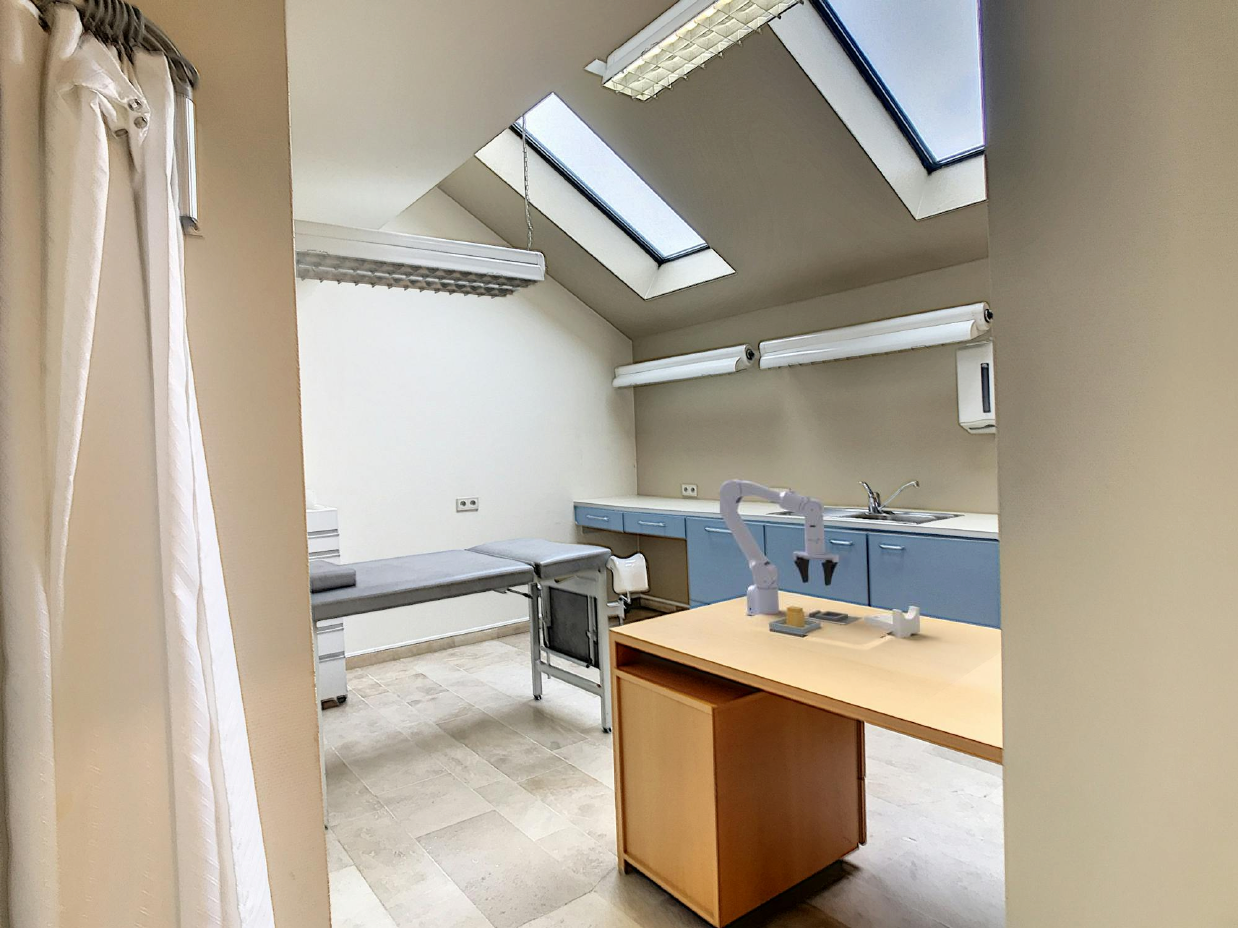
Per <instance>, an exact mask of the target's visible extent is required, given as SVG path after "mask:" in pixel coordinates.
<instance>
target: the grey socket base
mask: <svg viewBox="0 0 1238 928" xmlns="http://www.w3.org/2000/svg"><path fill="white" fill-rule="evenodd" d="M804 619H805V620H811V621H817V622H823V623H830V624H835V625H841V626H847V625H848V624H851V623H854V622H856V621H858V620H861V619H862V617H857V616H851V615H849V613H843V612H836V611H831V610H825V611H821V610H819V609H817V610H815V611H812V612H809V613H808V615H806V616H804Z"/></svg>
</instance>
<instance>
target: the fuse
mask: <svg viewBox="0 0 1238 928" xmlns="http://www.w3.org/2000/svg"><path fill="white" fill-rule="evenodd" d="M803 609H804V608H803V607H800V606H795V605H792V606H788V607H786V612H785V617H786V622H785V623H786V624H785V625H788V626H794V627H799V628H804V627H806V625H805V623H804V619H805V618H804V617H805V611H803Z"/></svg>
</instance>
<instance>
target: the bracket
mask: <svg viewBox="0 0 1238 928" xmlns="http://www.w3.org/2000/svg"><path fill="white" fill-rule="evenodd" d="M891 611H892V613H891V614H889V613H885V612H882V613H876V614H871V615H865V616H864V621H865V622H864V623H865V625H868V626H872V627H876V628H879V629H882V630H886V631H889V632H888V633H886V635H888V636H891V635H892V636H891V637H894V638H898V639H903V638H904V637H905V638H908V637H909V636H910V637H911V635H912V634H917V633H921V623H920V622H921V621H920V620H921V619H920V618H921V617H920V607H917V606H914V605H909V606H908V611H907V613H906V614H905V615H904V614H903V610H901V609H897V608H896V609H895V608H894V609H892V610H891ZM910 637H909V638H910ZM905 638H904V639H905Z"/></svg>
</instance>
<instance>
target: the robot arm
mask: <svg viewBox="0 0 1238 928" xmlns="http://www.w3.org/2000/svg"><path fill="white" fill-rule="evenodd" d="M795 492H796V491H795V490H793V489H790V490H784V491H783V492H780V491H777V490H775V489H773V488H770V487H767V486H764V485H762V484H759V483H756V482H753V481H749V480H745V479H744V480H743V479H741V478H733V479H727V480H726V481H724V482H722V484H721V486H720V488H719V491H718V496H719V513H720V516H721V518H722V519H723V521H724V522H725V525H726V526H727V528H728V529H729V531H730V533H731V535H732V536H733V538H734V539H735V542H736V543H737V545H738V547H739V548H740V550H741V551H742V553H743V555H744V557H745V558H746V560H747V561H748V565H749V566H748V567H749V570H750V572H751V574H752V581H753V583H754V584H752V585H750V586H749V587H748V588H747V591H746V608H747V609H746V610H747V611H746V613H745V614H746V615H747V616H751V617H755V616H758V615H760V614H761V615H774V614H775V615H776V614H778V613H779V612H780V602H779V601H780V600H779V585H778V583H777V580H778V577H779V569H778V567H777V566H776V565H775V564H774V563H772V562H771V561H770V560H769V558H768V557H767V556H766V555H765V554H764V553H763V552H762V550H761V548H760V547H759V545H758V543H757V541H756V540H755V538H754V536H753V535H752V533H751V531H750V530H749V528H748V527H747V525H746V523H745V522H744V520H743V518H742V516H741V515H740V513H739V512H738V509H739V506H740V503H741V501H742V499H743V498H744V497H749V496H755V497H759V498H762V499H764V500H769V501H771V502H775V503H777V504H778V506H779V507H780V509H783V510H786V511H789V512H791V513H795V514H797V515H803V517H804V525H803V526H804V543H805V544H804V546H805V550H804V551H793V552H792V557H793V559H795V560H794V564H795V566H796V567H797V570H798V572H799V575H800V577H801V581H802V583H803V584H806V583H809V578H810V577H809V576H810V575H809V568H810V561H811V560H813V561H823V562H821V566H822V569H823V570H822V571H823V575H824V577H823V578H824V585H825V586H828V587H829V586H830V585H831V583H832V579H833V575H834V573H835V570H836V568H837V565H838V563H839V561H840V560H839V559H840V555H839V554H835V553H828V552H826V543H825V541H826V540H825V524H824V516H823V514H824V512H825V505H824V503H823V502H822V501H821V500H819V499H818V498H814V497H813V498H811V496H810V495H806V496H804V495H801V494H798V493H795Z"/></svg>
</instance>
